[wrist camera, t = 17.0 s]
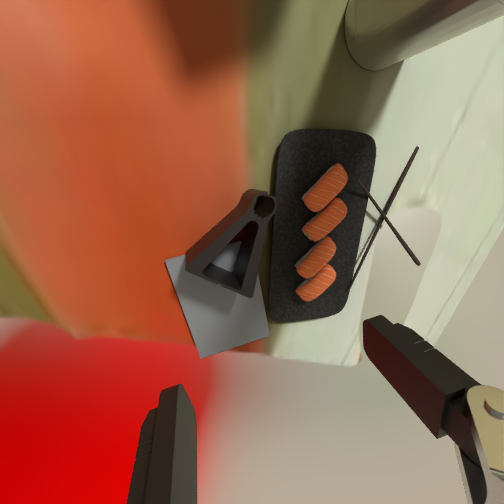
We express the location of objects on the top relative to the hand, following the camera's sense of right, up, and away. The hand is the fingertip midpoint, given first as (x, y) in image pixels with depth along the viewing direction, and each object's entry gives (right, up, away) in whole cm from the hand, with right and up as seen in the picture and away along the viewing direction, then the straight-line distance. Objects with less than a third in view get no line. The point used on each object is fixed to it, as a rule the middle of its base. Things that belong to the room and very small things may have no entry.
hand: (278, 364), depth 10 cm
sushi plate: (+16, +8, +29) cm, 34 cm away
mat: (-5, -3, +27) cm, 27 cm away
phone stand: (-6, +1, +21) cm, 22 cm away
